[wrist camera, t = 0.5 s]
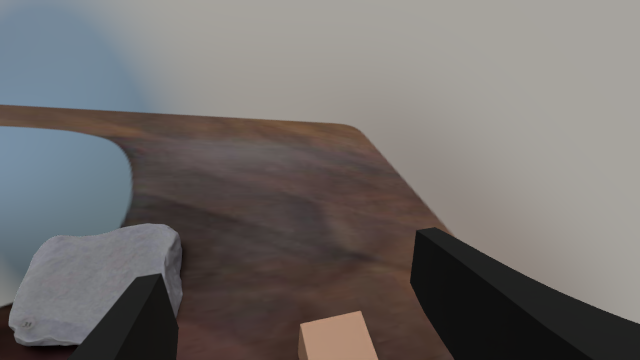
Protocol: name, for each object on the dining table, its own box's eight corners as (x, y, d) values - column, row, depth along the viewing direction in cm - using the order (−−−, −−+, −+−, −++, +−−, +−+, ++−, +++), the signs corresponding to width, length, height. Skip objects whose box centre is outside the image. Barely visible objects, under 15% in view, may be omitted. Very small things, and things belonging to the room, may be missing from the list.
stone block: (186, 340, 29) (186, 236, 34) (171, 327, 25) (174, 211, 31) (26, 374, 26) (54, 256, 32) (-18, 365, 23) (22, 233, 28)
